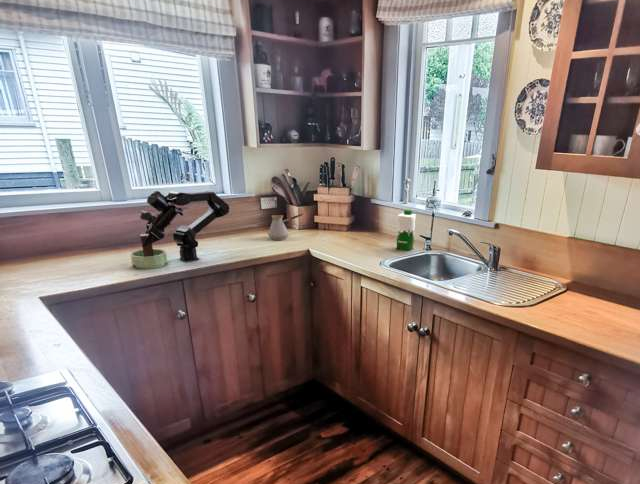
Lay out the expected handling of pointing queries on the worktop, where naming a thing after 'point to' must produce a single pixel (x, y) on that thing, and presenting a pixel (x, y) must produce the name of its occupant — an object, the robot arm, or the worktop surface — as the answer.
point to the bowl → (149, 259)
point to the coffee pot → (279, 227)
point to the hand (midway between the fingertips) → (142, 243)
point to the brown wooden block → (146, 249)
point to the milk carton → (405, 230)
